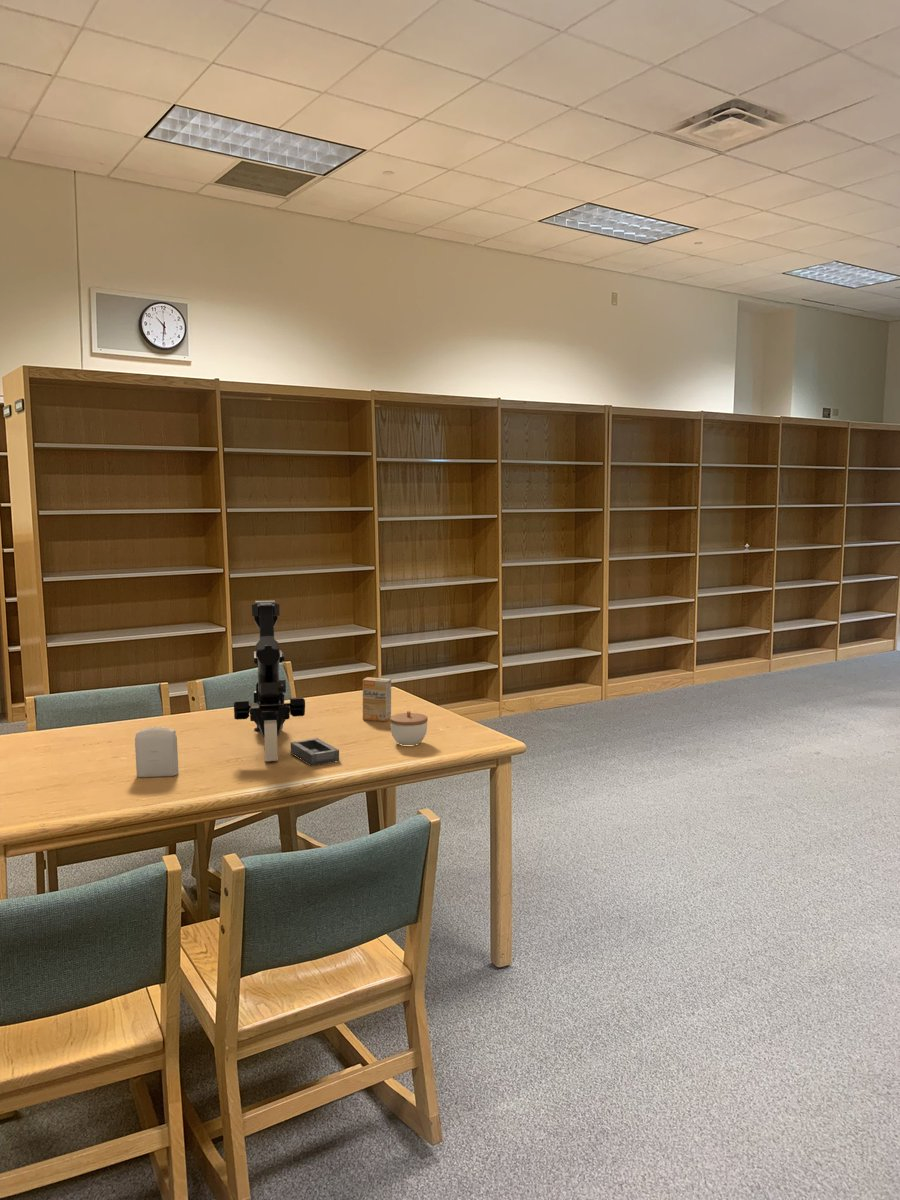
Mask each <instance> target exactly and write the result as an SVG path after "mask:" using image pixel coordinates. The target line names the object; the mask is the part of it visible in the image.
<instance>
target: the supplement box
mask: <svg viewBox="0 0 900 1200" xmlns="http://www.w3.org/2000/svg"><path fill="white" fill-rule="evenodd" d="M391 716H392V679H391V678H384V677H383V678H382V677H372V676H371V677H369V676H367V677H365V678H363V679H362V720H363V721H375V720H377V722H385V721H386V722H388V721H390V717H391ZM387 720H388V721H387Z"/></svg>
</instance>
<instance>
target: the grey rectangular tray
mask: <svg viewBox="0 0 900 1200" xmlns="http://www.w3.org/2000/svg"><path fill="white" fill-rule="evenodd" d="M289 743H290V754H292V755H293V754H294V756H295V755H296V756H297V757H296V756H295V757H296V758H298V757H299V758H298V759H300V758H301V759H302V761H303V760H304V761H305V763H306V762H307V763H306V764H308V765H309V764H310V765H309V766H311V767H314V766H319V764H320V765H325V763H326V764H330V762H331V763H336V762H335V761H337V762H340V750H339V749H338V748H336V747H335V746H332V745H331V744H329V743H328V742H326V741H324V740H321V739H320V738H318V737H315V738H309V739H303V740H297V741H296V740H295V741H291V742H289ZM301 759H300V760H301ZM304 761H303V762H304Z"/></svg>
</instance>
